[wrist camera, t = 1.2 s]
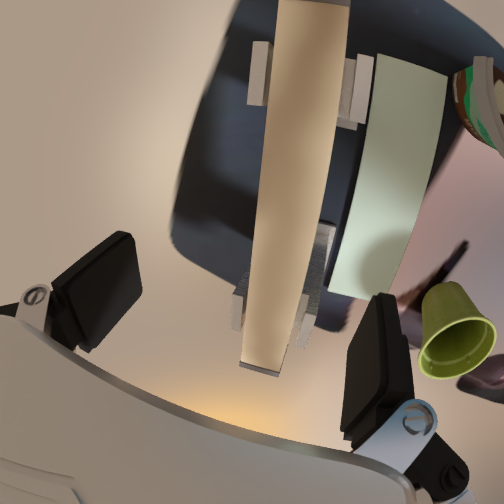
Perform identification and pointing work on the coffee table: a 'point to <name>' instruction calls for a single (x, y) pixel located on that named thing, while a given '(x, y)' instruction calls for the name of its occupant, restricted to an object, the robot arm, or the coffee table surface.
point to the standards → (348, 117)
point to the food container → (481, 101)
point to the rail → (293, 170)
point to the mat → (390, 176)
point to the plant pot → (453, 333)
